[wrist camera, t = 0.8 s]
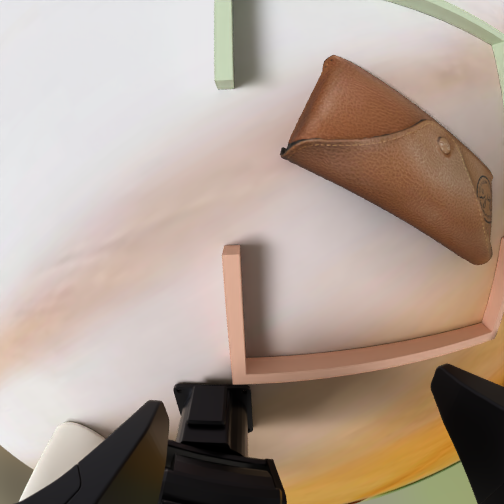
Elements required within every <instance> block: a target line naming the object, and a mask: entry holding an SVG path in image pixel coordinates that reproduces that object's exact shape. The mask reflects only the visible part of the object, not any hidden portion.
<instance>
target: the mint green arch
mask: <svg viewBox="0 0 504 504" xmlns="http://www.w3.org/2000/svg"><path fill="white" fill-rule="evenodd" d="M386 1H389V2H393V3H396V4H399V5H402V6H405V7H408V8H411V9H414V10H417V11H420V12H422V13H425V14H428V15H430V16H433V17H435V18H438V19H440V20H442V21H445V22H447V23H449V24H452V25H454V26H456V27H458V28H460V29H462V30H464V31H466V32H468V33H470V34H472V35H474V36H476V37H478V38H480V39H481V40H483V41H485V42H487V43H489V44H490V45H492V48H493V52H494V56H495V60H496V65H497V70H498V74H499V80H500V85H501V91H502V98H503V106H504V34H503V33H501V32H500V31H498V30H497V29H495V28H494V27H492V26H491V25H489V24H487V23H486V22H484V21H482V20H481V19H479V18H477V17H475V16H474V15H472V14H470V13H468V12H466V11H464V10H462V9H460V8H459V7H457V6H455V5H453V4H450V3H448V2H446V1H444V0H386ZM214 74H215V83H216V86H217V88H218V90H220V89H234V61H233V14H232V0H215V2H214Z"/></svg>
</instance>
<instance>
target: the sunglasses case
mask: <svg viewBox="0 0 504 504" xmlns="http://www.w3.org/2000/svg"><path fill="white" fill-rule="evenodd" d="M280 155H281V157H282V158H283V159H285V160H288V161H290V162H291V163H294V164H297V165H298V166H300V167H302V168H304V169H306V170H308V171H310V172H313V173H315V174H317V175H318V176H321V177H323V178H324V179H326V180H329V181H331V182H333V183H335V184H337V185H339V186H341V187H343V188H345V189H347V190H349V191H351V192H353V193H355V194H356V195H358V196H360V197H362V198H364V199H366V200H368V201H370V202H371V203H373V204H375V205H377V206H379V207H381V208H382V209H384V210H386V211H388V212H389V213H391V214H393V215H395V216H396V217H399V218H400V219H402V220H404V221H405V222H407V223H409V224H410V225H412V226H414V227H415V228H417V229H419V230H420V231H421V232H423V233H425V234H426V235H428V236H430V237H431V238H433V239H434V240H436V241H437V242H439V243H441V244H442V245H443V246H445V247H447V248H448V249H450V250H451V251H453V252H454V253H455V254H457V255H458V256H460V257H462V258H463V259H465V260H467V261H469V262H470V263H472V264H475V265H482V264H485V263H486V262H488V261H489V260H490V258H491V257H492V247H491V243H490V235H491V217H492V188H491V181H492V179H493V176H492V174H491V172H490V170H489V169H488V168H487V167H486V166H485V165H484V164H483V163H482V162H481V161H480V160H479V159H478V158H477V157H476V156H475V155H474V154H473V153H472V152H471V151H470V150H469V149H468V148H467V147H465V146H464V145H463V144H462V143H461V142H460V141H459V140H458V139H456V138H455V137H454V136H453V135H452V134H451V133H450V132H449V131H447V130H446V129H445V128H444V127H443V126H441V125H440V124H439V123H437V122H436V121H435V120H434V119H433V118H432V117H430V116H429V115H428V114H427V113H425V112H424V111H423V110H421V109H420V108H419V107H417V106H416V105H415V104H413V103H412V102H411V101H409V100H408V99H407V98H405V97H404V96H403V95H401V94H400V93H398V92H397V91H395V90H394V89H393V88H391V87H390V86H388V85H387V84H385V83H384V82H382V81H381V80H379V79H378V78H376V77H374V76H373V75H372V74H370V73H368V72H367V71H365V70H364V69H362V68H361V67H359V66H357V65H355V64H353V63H352V62H349V61H348V60H346V59H343V58H341V57H338V56H336V55H332V56H331V57H329V58H327V59H326V60H325V61H324V64H323V71H322V73H321V76H320V78H319V80H318V82H317V84H316V86H315V88H314V90H313V92H312V93H311V96H310V98H309V100H308V102H307V104H306V106H305V108H304V110H303V112H302V114H301V116H300V118H299V120H298V123H297V124H296V127H295V129H294V131H293V133H292V135H291V137H290V140H289V143H288V147H287V149H286V148H282V149H281V154H280Z"/></svg>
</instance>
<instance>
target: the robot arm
mask: <svg viewBox="0 0 504 504" xmlns="http://www.w3.org/2000/svg"><path fill="white" fill-rule="evenodd" d="M179 389H180V390H179ZM243 390H246V391H243ZM431 391H432V393H433V396H434V399H435V401H436V404H437V407H438V409H439V412H440V415H441V418H442V420H443V423H444V425H445V427H446V429H447V431H448V434H449V436H450V438H451V440H452V442H453V444H454V447H455V449H456V451H457V453H458V455H459V458H460V460H461V462H462V465H463V467H464V469H465V472H466V474H467V477H468V479H469V482H470V484H471V487H472V490H473V492H474V495H475V498H476V500H477V503H478V504H504V387H503V386H500V385H498V384H495V383H493V382H490V381H488V380H486V379H483V378H481V377H479V376H476V375H474V374H471V373H469V372H467V371H464V370H462V369H460V368H457V367H455V366H453V365H450V364H444V365H441V366H438V367H437V369H436V371H435V374H434V377H433V380H432V382H431ZM174 394H175V398H176V401H177V404H178V408H179V411H180V414H181V419H180V424H179V428H178V433H177V438H176V442H175V441H172V440H168V433H169V417H168V415H167V412H166V409H165V407H164V404H163V402H162V401H157V400H149V401H147V402H146V403H145V404H144V405H143V406H142V407H141V408H140V409H139V410H137V411H136V412H135V413H134V414H133V415H132V416H131V417H130V418H129V419H128V420H126V421H125V422H124V423H123V424H122V425H121V426H120V427H119V428H117V429H116V430H115V431H114V432H113V433H112V434H111V435H110V436H108V437H107V438H106V439H105V440H104V441H103V442H101V443H100V444H99V445H98V446H97V447H96V448H95V449H93V450H92V451H91V452H90V453H89V454H88V455H86V456H85V457H84V458H83V459H82V460H80V461H79V462H78V464H76V465H74V466H73V467H72V468H71V469H70V470H68V471H67V472H66V473H65V474H63V475H62V476H61V477H59V478H58V479H56V480H55V481H53V482H52V483H50V484H49V485H47V486H46V487H44V488H43V489H41V490H39V491H38V492H36V493H34V494H33V495H31V496H29V497H27V498H26V499H24V500H22V501H20V502H18V503H15V504H287V501H286V495H285V491H284V489H283V486H282V483H281V480H280V478H279V475H278V472H277V469H276V467H275V464H274V461H273V459H257V458H250V457H248V433H249V432H252V431H253V422H252V403H251V388H250V386H248V385H195V384H176V385H175V386H174Z"/></svg>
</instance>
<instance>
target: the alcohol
mask: <svg viewBox="0 0 504 504" xmlns="http://www.w3.org/2000/svg"><path fill="white" fill-rule="evenodd" d="M104 440H105V438H104V437H102V436H101V435H100V434H98V433H97V432H95V431H93V430H92V429H90V428H88V427H86V426H83V425H81V424H78V423H74V422H66V423H63V424H60V425H58V427H57V428H56V430H55V432H54V434H53V435H52V437H51V439H50V441H49V443H48V444H47V446H46V448H45V450H44V452H43V454H42V456H41V457H40V459H39V461H38V463H37V465H36V467H35V469H34V471H33V473H32V475H31V477H30V479H29V481H28V483H27V485H26V488H25V490H24V492H23V494H22V496H21V498H20V501H22V500H24V499H26V498H27V497H29V496H31V495H33V494H34V493H36V492H38V491H39V490H41V489H43V488H44V487H46V486H47V485H49V484H50V483H52V482H53V481H55V480H56V479H58V478H59V477H61V476H62V475H63V474H65V473H66V472H67V471H68V470H70V469H71V468H72V467H73V466H74V465H76V464H78V462H79V461H80V460H82V459H83V458H84V457H85V456H86V455H88V454H89V453H90V452H91V451H92V450H93V449H95V448H96V447H97V446H98V445H99V444H100V443H101V442H103V441H104ZM20 501H19V502H20Z"/></svg>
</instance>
